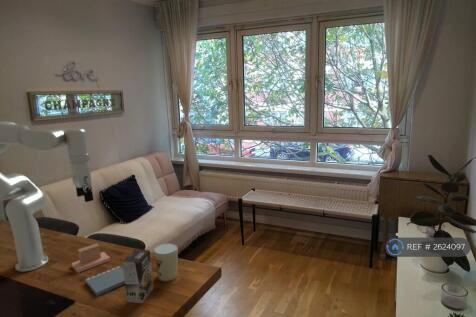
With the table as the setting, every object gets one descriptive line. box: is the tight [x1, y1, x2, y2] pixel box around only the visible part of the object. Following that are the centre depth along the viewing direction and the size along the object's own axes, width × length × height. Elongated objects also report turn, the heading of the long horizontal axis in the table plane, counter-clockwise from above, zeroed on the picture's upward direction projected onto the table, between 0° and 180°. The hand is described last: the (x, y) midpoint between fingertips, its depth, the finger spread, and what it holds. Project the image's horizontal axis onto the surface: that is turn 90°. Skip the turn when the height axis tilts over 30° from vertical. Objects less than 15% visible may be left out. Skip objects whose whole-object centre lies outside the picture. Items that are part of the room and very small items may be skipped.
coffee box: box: [122, 249, 154, 304], centre depth 120 cm, size 9×6×16 cm
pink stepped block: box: [71, 243, 111, 274], centre depth 144 cm, size 7×14×8 cm, turn 133°
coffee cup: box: [153, 242, 179, 282], centre depth 132 cm, size 9×9×12 cm
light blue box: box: [85, 265, 125, 297], centre depth 130 cm, size 12×14×2 cm
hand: (85, 198), depth 138 cm, fingers open, 9 cm apart
